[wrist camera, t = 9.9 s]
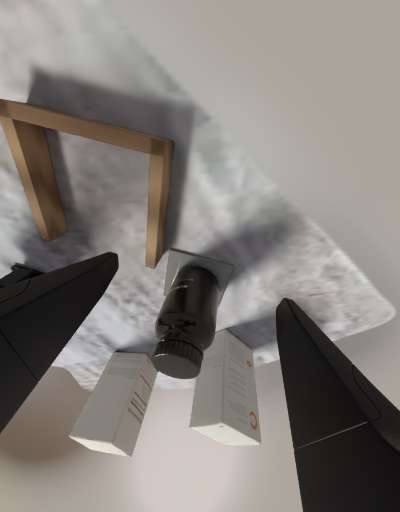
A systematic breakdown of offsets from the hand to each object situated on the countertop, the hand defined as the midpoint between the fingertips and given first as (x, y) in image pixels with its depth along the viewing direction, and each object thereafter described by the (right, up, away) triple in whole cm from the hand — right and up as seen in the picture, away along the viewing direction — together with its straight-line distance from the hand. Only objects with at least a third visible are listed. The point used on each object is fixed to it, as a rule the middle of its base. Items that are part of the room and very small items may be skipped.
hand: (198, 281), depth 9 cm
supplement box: (-16, -25, +35) cm, 46 cm away
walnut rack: (-11, +9, +12) cm, 19 cm away
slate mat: (-1, -2, +18) cm, 18 cm away
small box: (+5, -16, +26) cm, 30 cm away
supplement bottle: (0, -2, +17) cm, 18 cm away
